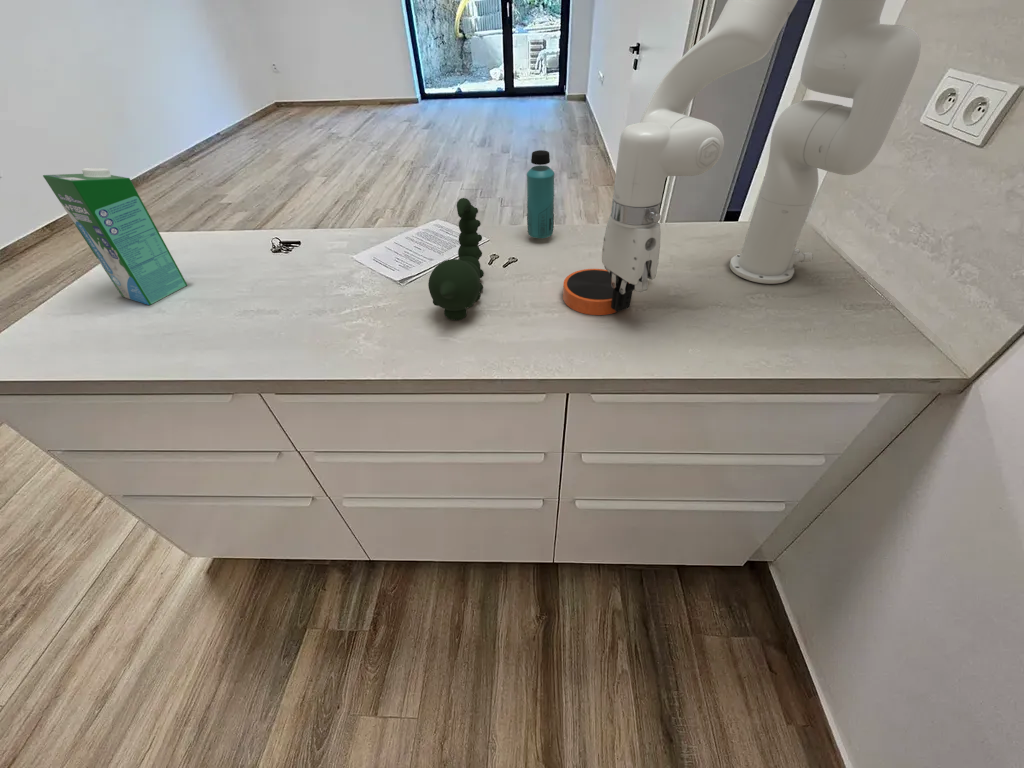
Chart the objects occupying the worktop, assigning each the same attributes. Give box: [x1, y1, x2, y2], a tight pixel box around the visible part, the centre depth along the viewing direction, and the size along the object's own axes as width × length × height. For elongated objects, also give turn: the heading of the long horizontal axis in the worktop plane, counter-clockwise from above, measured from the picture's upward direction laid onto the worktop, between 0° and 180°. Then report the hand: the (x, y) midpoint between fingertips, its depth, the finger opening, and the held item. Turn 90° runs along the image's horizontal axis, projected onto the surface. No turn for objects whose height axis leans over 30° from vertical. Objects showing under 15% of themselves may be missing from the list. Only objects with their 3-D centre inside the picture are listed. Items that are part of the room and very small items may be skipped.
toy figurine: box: [427, 197, 485, 321], centre depth 90 cm, size 9×19×25 cm
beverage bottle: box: [526, 149, 555, 239], centre depth 110 cm, size 6×7×20 cm
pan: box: [562, 268, 629, 316], centre depth 95 cm, size 20×13×3 cm, turn 116°
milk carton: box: [42, 167, 188, 306], centre depth 94 cm, size 9×9×25 cm
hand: (620, 307), depth 88 cm, fingers closed
